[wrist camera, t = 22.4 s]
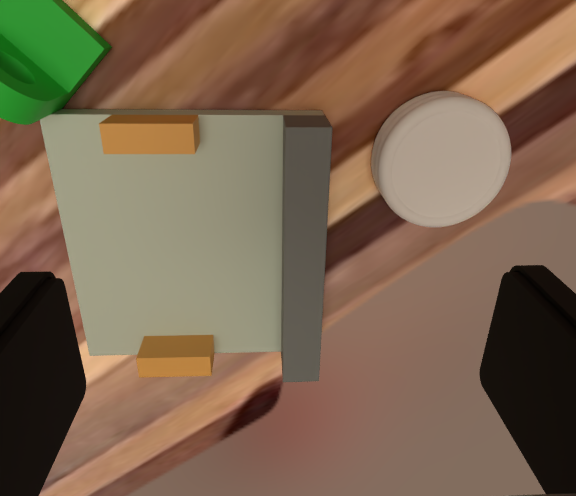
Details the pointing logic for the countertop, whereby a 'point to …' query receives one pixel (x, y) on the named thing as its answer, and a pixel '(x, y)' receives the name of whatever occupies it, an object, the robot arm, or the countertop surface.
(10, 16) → the mechanical part
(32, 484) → the robot arm
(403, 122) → the coaster
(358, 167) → the countertop surface
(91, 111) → the deck plate
